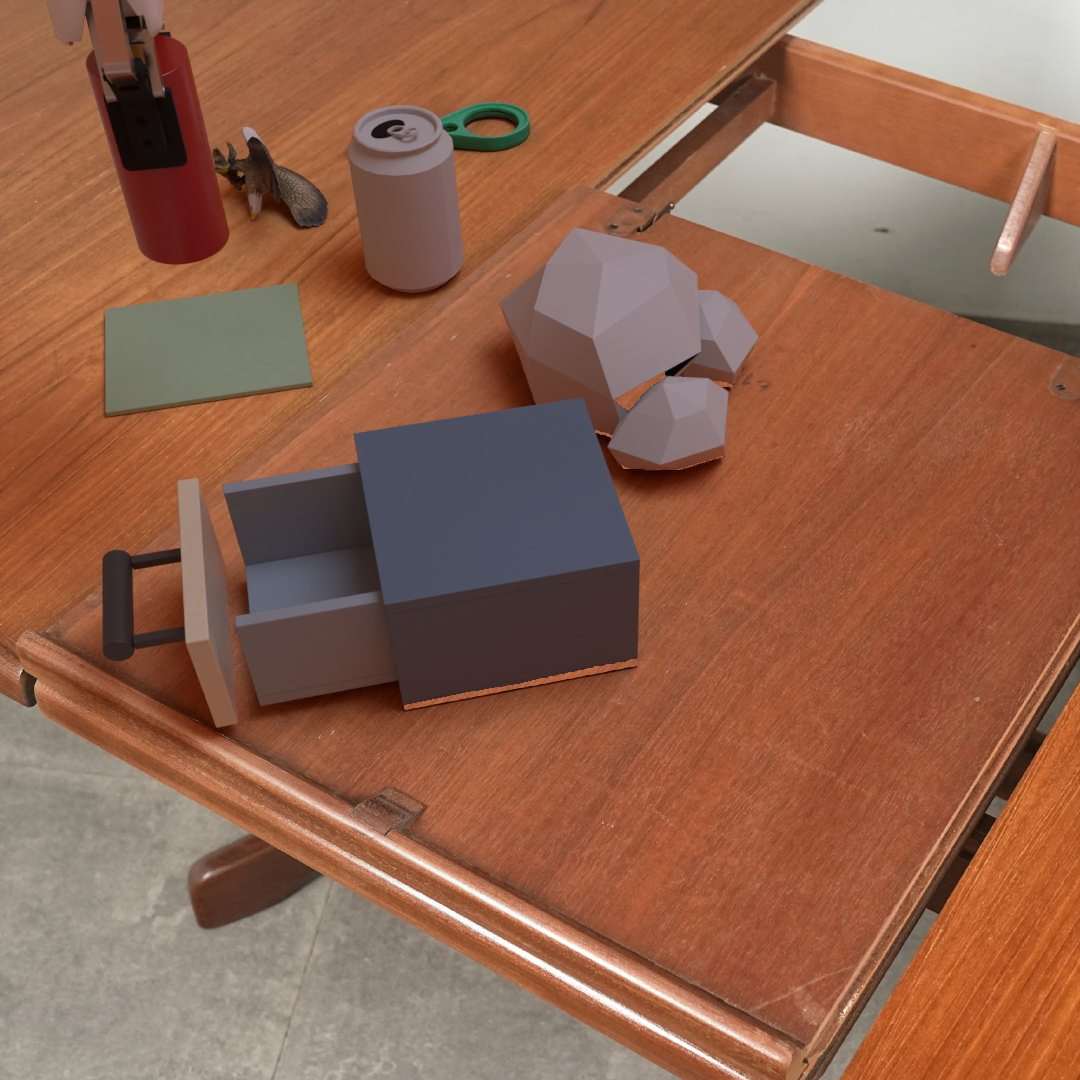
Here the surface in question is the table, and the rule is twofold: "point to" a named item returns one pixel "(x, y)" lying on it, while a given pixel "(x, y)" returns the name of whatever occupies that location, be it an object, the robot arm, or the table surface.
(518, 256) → the table surface
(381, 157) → the can
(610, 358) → the rock
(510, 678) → the cabinet
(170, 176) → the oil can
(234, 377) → the mat
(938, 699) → the table surface
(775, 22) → the table surface
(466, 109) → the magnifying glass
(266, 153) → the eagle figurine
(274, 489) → the drawer
